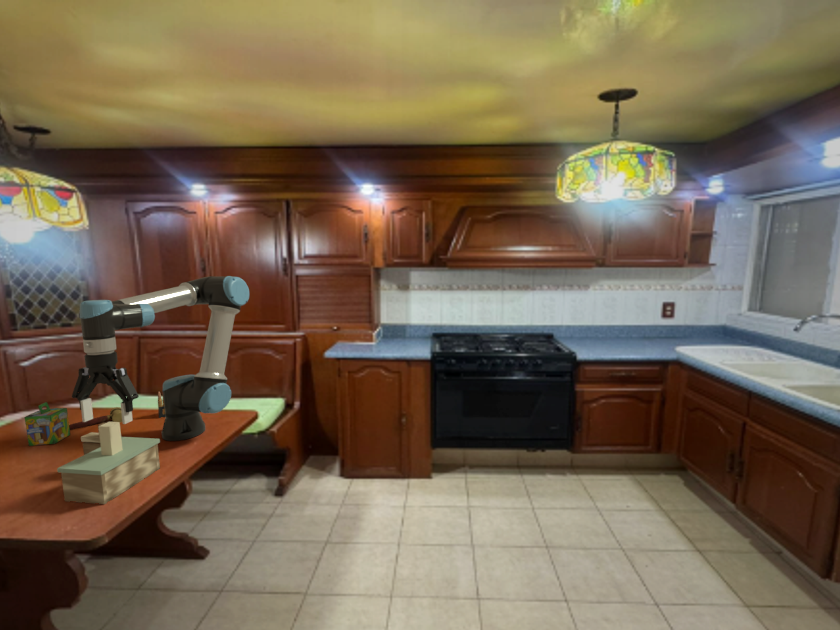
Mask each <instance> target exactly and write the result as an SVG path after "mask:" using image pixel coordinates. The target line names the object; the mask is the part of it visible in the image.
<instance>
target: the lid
mask: <svg viewBox="0 0 840 630" xmlns="http://www.w3.org/2000/svg"><path fill="white" fill-rule="evenodd" d="M104 423H105V424H103V425H100V426H98V425H97V428H98V427H99V431H98V433H99V436H100V445H101V447H100V448H98V449H96V450H94V451H92V452H90V453H87V454H85V455H84V454H83V455H82V456H79V457H77V458H76V459H73V460H71V461H69V462H67V463H65V464H63V465H61V466H59V467H57V469H56V471H57V473H75V474H90V475H103V474H104V473H106V472H108V471H110V470H111V469H113V468H115V467H117V466H119V465H120V464H122V463H124V462H126V461H127V460H129V459H131V458H133V457H135V456H136V455H138V454H140V453H142V452H143V451H145V450H147V449H149V448H151V447H152V446H154V445H156V444H159V443H161V439H160V438H156V437H155V438H150V437H132V436H122V433H121V424H120V423H121V422H113V421H106V422H104Z"/></svg>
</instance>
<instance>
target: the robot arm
mask: <svg viewBox="0 0 840 630" xmlns="http://www.w3.org/2000/svg"><path fill="white" fill-rule="evenodd" d="M249 299H250V289H249V286H248V285H247V282H246V281H245V280H244V279H242V278H241V277H239V276H231V275H227V276H226V275H225V276H223V275H222V276H218V275H217V276H205V277H199V278H197V279H193V280H190V281H185V282H181V283H180V284H179V285H178V286H174V287H171V288H166V289H161V290H156V291H153V292H147V293H143V294H139V295H134V296H129V297H125V298H121V299H117V300H109V299H93V300H85V301H81V302H80V303H79V318H80V324H81V333H82V335H81V336H82V344H83V352H84V353H85V355H84V363H85V367H82V368H81V367H80V368H78V376H77V379H76V382H75V386H74V388H73V391H72V393H71V398H72V399H77V401H78V402H79V403H78V404H79V410H80V411H81V419H82V421H83V422H86V421H89V420H91V419H93V418H94V414H93V411H94V410H93V405H92V403H93V402H92V398H90V395H91V394H92V392H93V391H94V389H95V388H96V387H97V385H99V384H102V385H105V384H106V385H107V386H109V387H110V388H111V389H112V390H113V392H115V393H116V394H117V395H118V397H119V398H120V399H121V400H122V401H121V402H120V408H121V412H122V422H121V423H122V425H126V424H129V423H130V422H133V411H134V407H133V404H134V403H133V400H136V399H138V398H140V397H139V393H138V392H137V390H136V388H135V386H134V384H133V383H132V381H131V379H130V377H129V375H128V371H127V368H126V367H121V368H117V367H116V365H117V364H118V362H119V361H118V353H117V352H116V351H117V339H116V331H120V330H126V329H134V328H143V327H148V326H150V325H152V324H153V323H154V321H155V318H156V315H155V314H156V313H161V312H164V311H168V310H171V309H175V308H178V307H183V306H187V307H191V306H195V305H197V306H198V305H207V306H208V308H209V309H210V310H211V314H210V319H209V322H208V323H209V324H208V327H207V332H206V333H207V334H206V338H205V342H204V349H203V352H202V358H201V363H200V368H199V371H198V372H197V373H196V374H185V375H180V376H179V375H178V376H175V377H171V378H169V379H166V380H164V381H163V383H162V399H163V398H164V407H165V417H164V422H163V426H162V430H161V438H162V440H164V441H168V442H172V441H173V442H176V441H184V440H185V441H186V440H188V439H192V438H194V437H198V436H199V435H202V434H203V433H204V432H205V431H206V423H205V421H204V420H203V417H202V415H201V413H202V414H217V413H220V412H221V411H223V410H224V409H225V408H226V407H227V406H228V404H229V403H230V401H231V397H232V389H231V387H230V386H229V384H227V382H228V377H227V376H226V375H225V370H226V366H227V361H228V355H229V350H230V343H231V339H232V332H233V330H234V329H233V328H234V322H235V317H236V315H237V314H239V313H240V312H241V307H242V306H245V305H246V304H247V303H248V302H249ZM82 421H81V422H82Z"/></svg>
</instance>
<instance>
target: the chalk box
mask: <svg viewBox="0 0 840 630" xmlns="http://www.w3.org/2000/svg"><path fill="white" fill-rule="evenodd" d="M37 406H38V410H37V411H35V412H32V413H30V414H28V415H26V416H25V417H24V423H25V430H26V436H27V443H28V444H27V445H28V446H29V447H31V446H43V445H54V444H57V443H58V442H60V441H62V440H64V439H66V438H68V436H70V435H71V430H70V428H69V425H70V422H69V412H68V408H67V407H60V408H59V407H55V408H54V407H53V408H50V406H49V403H48V402H46V401H45V402H43V403H41V404H39V405H37ZM43 407H46V408H45V409H43Z"/></svg>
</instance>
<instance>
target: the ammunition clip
mask: <svg viewBox="0 0 840 630" xmlns="http://www.w3.org/2000/svg"><path fill="white" fill-rule="evenodd" d="M161 394H162V393H161V392H160V391H158V393H157V409H158V418H159V419H162V418H161V417H163V418H165V407H164V398H163V397H162V395H161Z"/></svg>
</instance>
